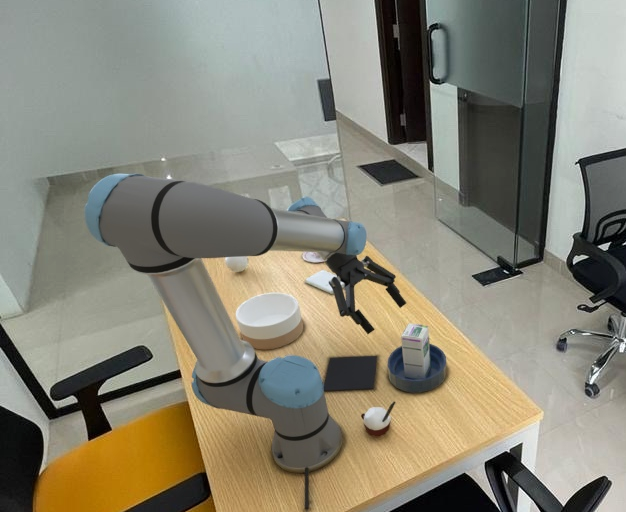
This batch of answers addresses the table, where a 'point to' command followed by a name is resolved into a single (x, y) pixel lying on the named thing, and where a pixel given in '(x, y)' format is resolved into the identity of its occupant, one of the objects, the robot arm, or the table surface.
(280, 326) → the bowl
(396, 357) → the serving bowl
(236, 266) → the white egg shape
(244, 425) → the table surface
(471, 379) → the table surface
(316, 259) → the teacup
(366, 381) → the mat
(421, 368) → the syrup box
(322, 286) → the hard drive
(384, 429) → the cocoa
